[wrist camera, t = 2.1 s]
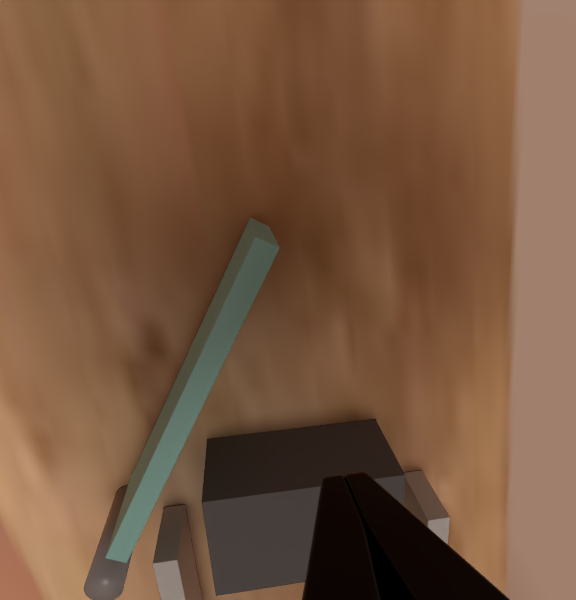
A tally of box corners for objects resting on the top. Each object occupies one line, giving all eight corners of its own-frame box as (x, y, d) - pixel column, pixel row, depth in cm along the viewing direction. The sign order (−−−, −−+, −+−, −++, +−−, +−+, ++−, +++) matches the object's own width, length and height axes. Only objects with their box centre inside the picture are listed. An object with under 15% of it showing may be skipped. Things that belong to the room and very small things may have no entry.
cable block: (371, 497, 22) (400, 566, 19) (218, 518, 22) (216, 595, 18) (373, 416, 21) (405, 475, 17) (207, 436, 20) (201, 502, 16)
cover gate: (268, 226, 16) (279, 248, 13) (146, 484, 20) (126, 563, 16) (250, 217, 16) (255, 236, 13) (129, 480, 20) (105, 558, 16)
